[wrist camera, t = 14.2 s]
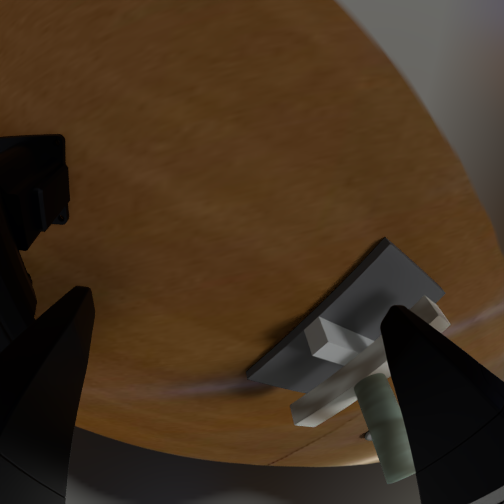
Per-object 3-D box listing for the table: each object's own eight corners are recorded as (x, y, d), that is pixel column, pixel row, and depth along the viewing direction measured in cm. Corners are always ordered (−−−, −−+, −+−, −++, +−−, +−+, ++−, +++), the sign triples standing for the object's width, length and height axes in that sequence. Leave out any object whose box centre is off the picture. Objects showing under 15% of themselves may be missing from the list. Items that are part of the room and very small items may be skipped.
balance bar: (309, 408, 31) (335, 506, 21) (289, 405, 30) (313, 510, 20) (437, 305, 24) (505, 414, 14) (423, 294, 23) (498, 414, 13)
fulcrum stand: (246, 371, 32) (250, 402, 29) (385, 237, 24) (408, 265, 21) (320, 390, 37) (328, 415, 34) (440, 287, 29) (459, 311, 26)
